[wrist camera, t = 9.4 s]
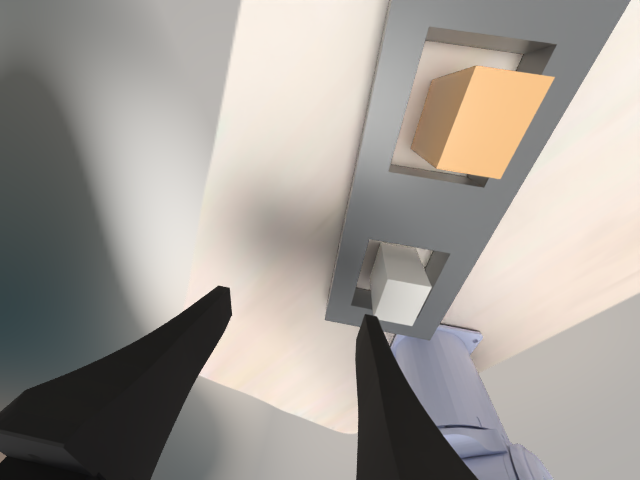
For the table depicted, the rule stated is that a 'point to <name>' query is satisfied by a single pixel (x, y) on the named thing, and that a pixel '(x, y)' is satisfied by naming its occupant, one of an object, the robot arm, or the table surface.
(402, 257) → the white plug
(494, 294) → the table surface
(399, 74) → the grey two-slot frame
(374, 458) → the robot arm
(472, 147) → the orange plug
